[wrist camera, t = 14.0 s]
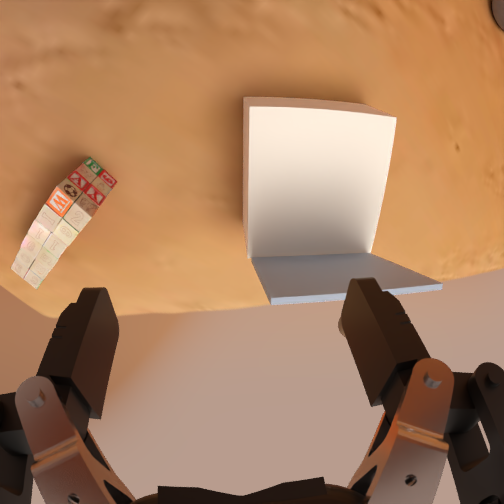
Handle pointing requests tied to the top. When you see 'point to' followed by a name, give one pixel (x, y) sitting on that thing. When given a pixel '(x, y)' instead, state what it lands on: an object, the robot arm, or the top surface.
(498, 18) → the smart speaker
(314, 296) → the box lid
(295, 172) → the carton
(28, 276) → the stack of blocks
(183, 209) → the top surface
